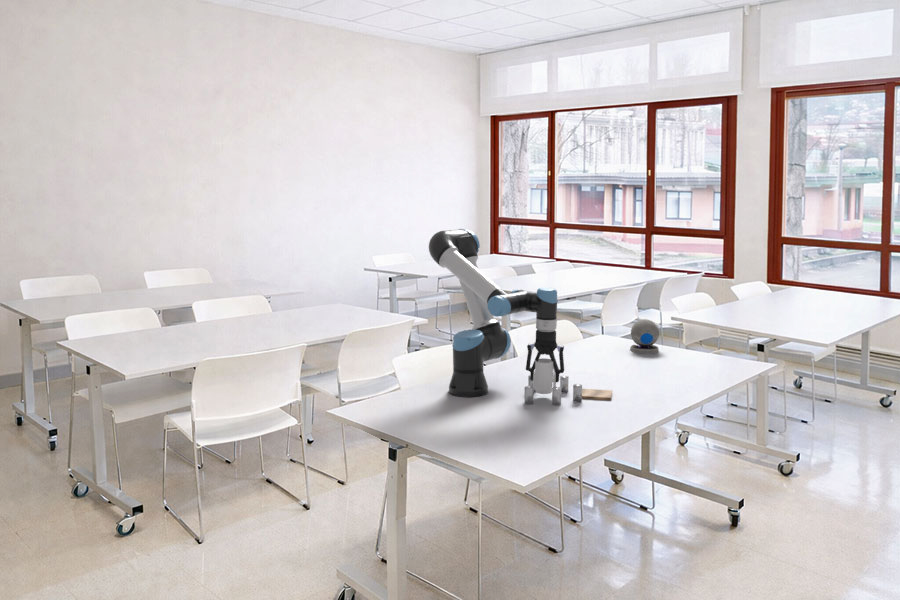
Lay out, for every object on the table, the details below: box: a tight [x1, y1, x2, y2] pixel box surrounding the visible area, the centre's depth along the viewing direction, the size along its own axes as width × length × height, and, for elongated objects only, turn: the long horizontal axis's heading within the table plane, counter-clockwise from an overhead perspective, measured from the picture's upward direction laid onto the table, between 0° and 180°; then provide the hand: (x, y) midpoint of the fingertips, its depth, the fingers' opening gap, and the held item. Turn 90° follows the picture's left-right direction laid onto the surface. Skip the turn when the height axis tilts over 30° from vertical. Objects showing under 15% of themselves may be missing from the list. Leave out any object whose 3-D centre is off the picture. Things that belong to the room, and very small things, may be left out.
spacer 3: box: [551, 386, 562, 406], centre depth 271 cm, size 3×3×6 cm
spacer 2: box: [523, 385, 534, 406], centre depth 273 cm, size 3×3×6 cm
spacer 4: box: [559, 374, 569, 394], centre depth 287 cm, size 3×3×6 cm
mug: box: [534, 357, 555, 395], centre depth 279 cm, size 10×7×12 cm, turn 131°
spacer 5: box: [572, 383, 583, 403], centre depth 275 cm, size 3×3×6 cm
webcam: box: [629, 318, 660, 354], centre depth 354 cm, size 13×13×15 cm
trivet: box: [582, 388, 613, 401], centre depth 282 cm, size 12×10×1 cm
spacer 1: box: [527, 374, 536, 393], centre depth 288 cm, size 3×3×6 cm
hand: (544, 389), depth 280 cm, fingers closed on mug, 7 cm apart
